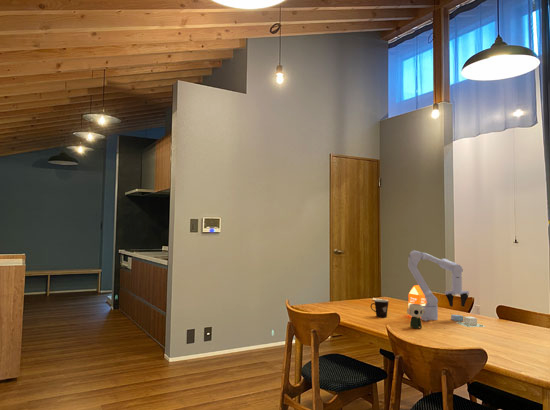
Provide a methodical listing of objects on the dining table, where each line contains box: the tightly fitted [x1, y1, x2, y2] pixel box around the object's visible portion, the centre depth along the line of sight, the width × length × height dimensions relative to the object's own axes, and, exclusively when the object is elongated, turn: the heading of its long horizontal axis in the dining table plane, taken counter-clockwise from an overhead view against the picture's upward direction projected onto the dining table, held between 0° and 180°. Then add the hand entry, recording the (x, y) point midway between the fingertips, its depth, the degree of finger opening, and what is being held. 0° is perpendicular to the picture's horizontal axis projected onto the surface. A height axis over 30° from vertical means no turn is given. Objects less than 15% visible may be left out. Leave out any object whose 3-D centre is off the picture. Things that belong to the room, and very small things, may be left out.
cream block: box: [463, 316, 478, 326], centre depth 239 cm, size 5×5×4 cm
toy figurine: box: [406, 303, 424, 329], centre depth 232 cm, size 11×7×13 cm, turn 106°
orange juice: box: [408, 284, 427, 318], centre depth 266 cm, size 8×9×20 cm
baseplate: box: [454, 321, 487, 328], centre depth 239 cm, size 12×12×2 cm
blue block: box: [450, 314, 464, 322], centre depth 251 cm, size 5×5×4 cm
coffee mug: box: [370, 299, 389, 319], centre depth 263 cm, size 12×9×10 cm
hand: (457, 306), depth 252 cm, fingers open, 7 cm apart
